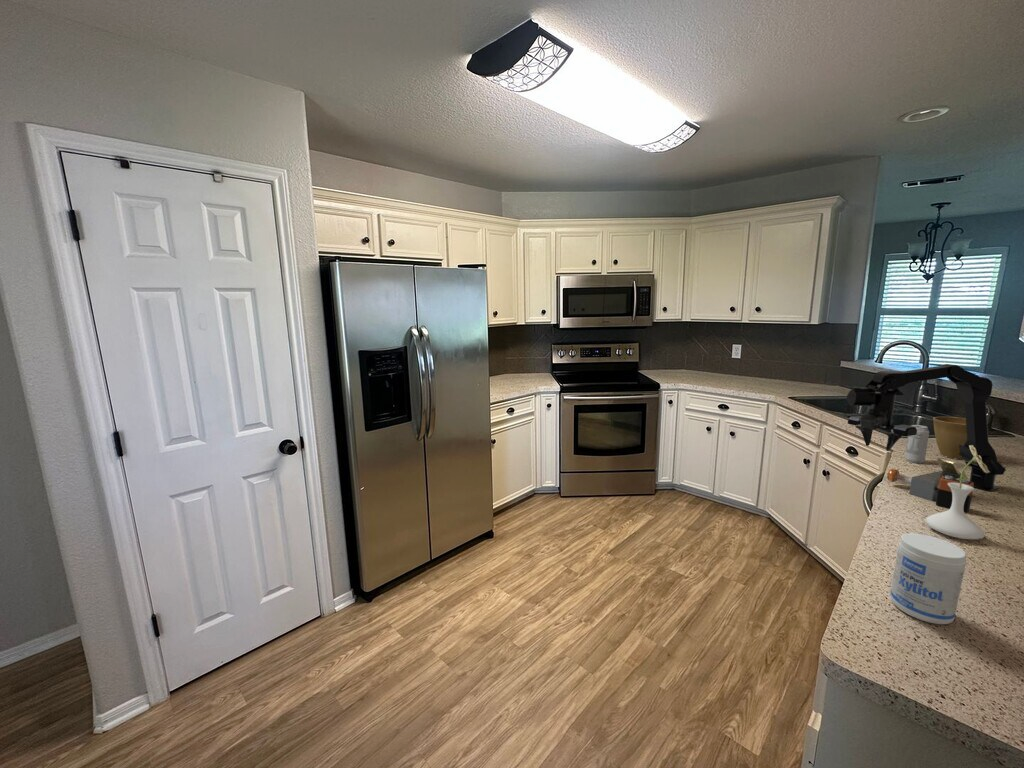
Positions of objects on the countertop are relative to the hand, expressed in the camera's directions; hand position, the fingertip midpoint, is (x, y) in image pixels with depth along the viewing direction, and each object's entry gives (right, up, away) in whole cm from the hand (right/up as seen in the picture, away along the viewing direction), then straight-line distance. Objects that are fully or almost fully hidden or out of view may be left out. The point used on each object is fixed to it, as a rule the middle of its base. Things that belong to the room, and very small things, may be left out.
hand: (877, 448), depth 150 cm
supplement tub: (-49, -24, -65) cm, 85 cm away
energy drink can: (+33, -9, +20) cm, 39 cm away
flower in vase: (-10, -18, -35) cm, 41 cm away
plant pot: (+54, -8, +25) cm, 60 cm away
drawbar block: (+10, -14, -11) cm, 20 cm away
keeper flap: (+15, -5, -11) cm, 19 cm away
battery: (+5, -16, -21) cm, 27 cm away
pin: (+4, -12, -10) cm, 16 cm away
